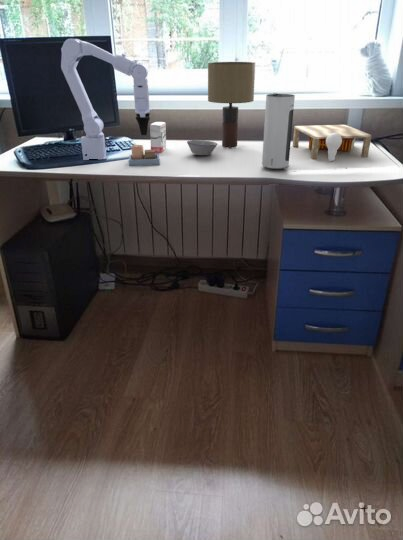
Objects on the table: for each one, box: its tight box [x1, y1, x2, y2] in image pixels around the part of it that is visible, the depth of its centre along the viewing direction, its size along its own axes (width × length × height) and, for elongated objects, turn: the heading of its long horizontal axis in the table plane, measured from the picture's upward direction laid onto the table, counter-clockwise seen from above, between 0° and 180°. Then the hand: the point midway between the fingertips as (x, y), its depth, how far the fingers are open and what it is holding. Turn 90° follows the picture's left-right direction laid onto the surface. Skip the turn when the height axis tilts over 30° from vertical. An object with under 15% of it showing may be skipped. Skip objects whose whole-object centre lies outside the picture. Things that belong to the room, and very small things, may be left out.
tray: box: [128, 153, 161, 167], centre depth 170 cm, size 12×9×2 cm
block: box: [144, 149, 156, 159], centre depth 170 cm, size 4×4×4 cm
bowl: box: [186, 139, 219, 156], centre depth 180 cm, size 13×13×5 cm
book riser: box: [292, 124, 372, 160], centre depth 184 cm, size 24×26×9 cm
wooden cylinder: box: [130, 144, 145, 160], centre depth 169 cm, size 5×5×6 cm
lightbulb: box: [326, 133, 342, 162], centre depth 167 cm, size 6×6×11 cm
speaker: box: [261, 92, 296, 170], centre depth 159 cm, size 11×10×26 cm
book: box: [308, 136, 356, 152], centre depth 192 cm, size 18×13×5 cm
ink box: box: [149, 121, 167, 154], centre depth 186 cm, size 9×5×12 cm, turn 168°
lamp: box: [207, 61, 256, 148], centre depth 189 cm, size 20×20×35 cm
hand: (144, 133), depth 173 cm, fingers open, 7 cm apart
